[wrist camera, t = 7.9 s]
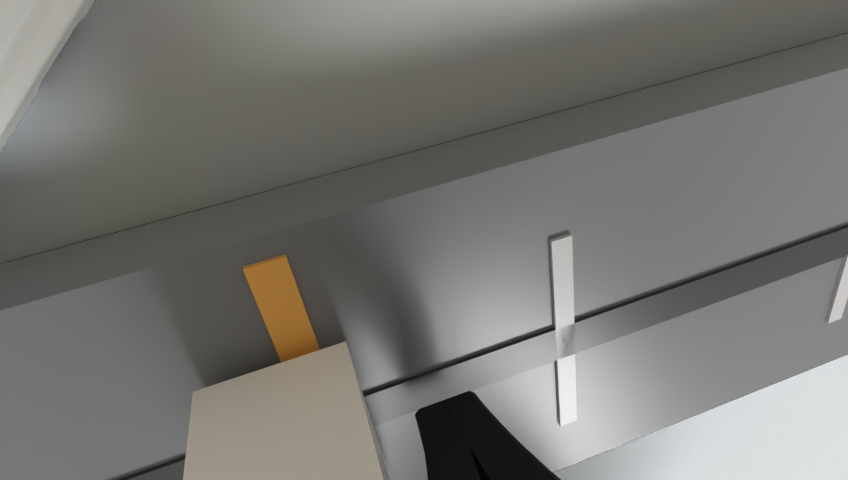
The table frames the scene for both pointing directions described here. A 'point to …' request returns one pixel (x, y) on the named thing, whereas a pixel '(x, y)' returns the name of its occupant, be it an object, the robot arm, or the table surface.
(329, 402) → the fader tab
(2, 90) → the external hard drive
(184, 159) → the table surface
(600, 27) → the table surface
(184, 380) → the console
